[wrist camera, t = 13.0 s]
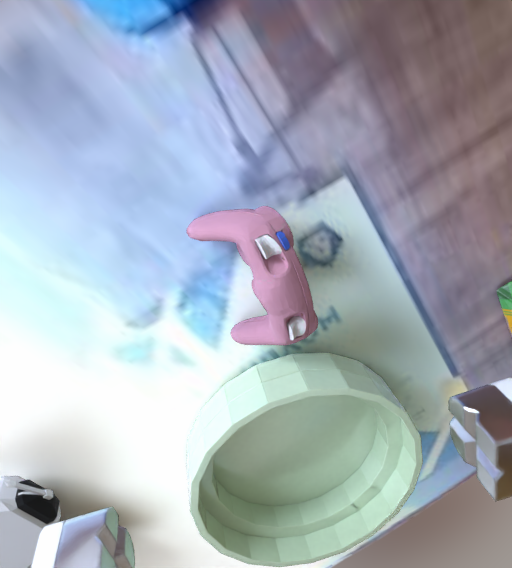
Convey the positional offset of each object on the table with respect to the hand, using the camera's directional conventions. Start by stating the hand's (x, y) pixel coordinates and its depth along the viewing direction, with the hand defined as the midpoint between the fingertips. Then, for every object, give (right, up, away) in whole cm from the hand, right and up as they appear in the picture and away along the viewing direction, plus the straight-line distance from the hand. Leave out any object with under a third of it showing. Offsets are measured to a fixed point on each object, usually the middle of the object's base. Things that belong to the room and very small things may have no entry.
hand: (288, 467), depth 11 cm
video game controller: (-1, +6, +22) cm, 23 cm away
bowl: (+2, -9, +29) cm, 31 cm away
